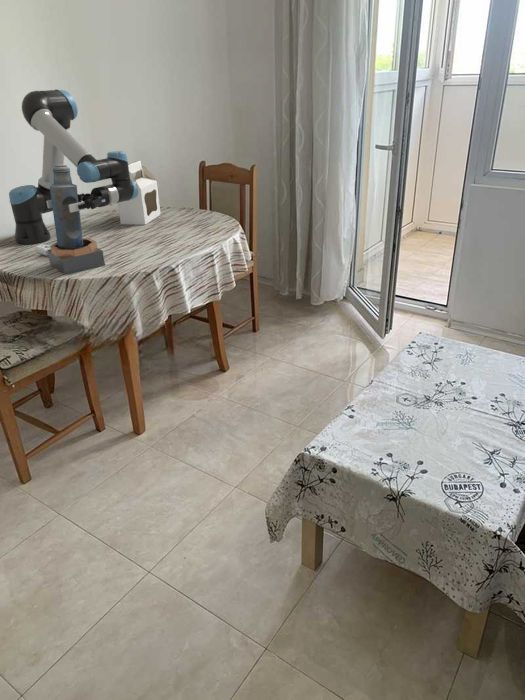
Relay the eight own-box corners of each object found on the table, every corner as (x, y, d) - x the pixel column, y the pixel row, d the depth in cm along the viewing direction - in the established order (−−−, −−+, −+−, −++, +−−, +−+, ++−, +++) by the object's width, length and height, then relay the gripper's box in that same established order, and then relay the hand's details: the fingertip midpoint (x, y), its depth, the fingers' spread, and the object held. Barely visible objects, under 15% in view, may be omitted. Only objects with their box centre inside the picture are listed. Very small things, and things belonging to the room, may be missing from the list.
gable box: (137, 214, 284) (130, 159, 271) (160, 214, 281) (154, 159, 268) (120, 224, 264) (111, 166, 251) (145, 225, 262) (137, 166, 249)
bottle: (63, 249, 199) (53, 166, 188) (53, 245, 206) (42, 164, 194) (87, 246, 205) (78, 165, 193) (77, 242, 212) (68, 163, 200)
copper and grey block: (50, 264, 210) (45, 243, 206) (88, 256, 218) (85, 236, 214) (65, 274, 198) (60, 252, 194) (105, 265, 207) (101, 244, 203)
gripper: (126, 209, 205) (81, 220, 190) (86, 202, 219) (41, 212, 204) (123, 189, 202) (77, 199, 187) (82, 183, 215) (36, 192, 200)
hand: (58, 206), depth 195 cm, fingers open, 13 cm apart
